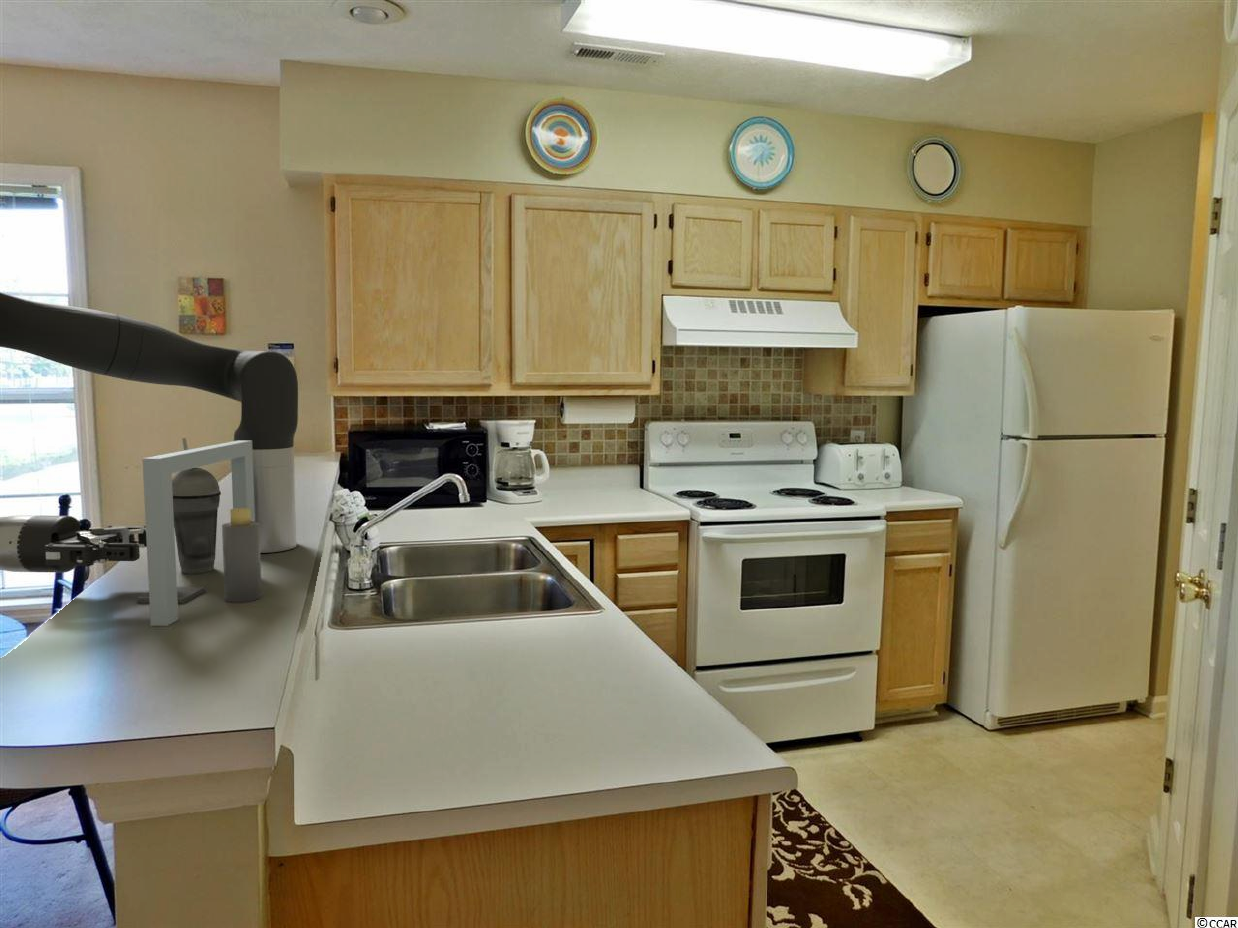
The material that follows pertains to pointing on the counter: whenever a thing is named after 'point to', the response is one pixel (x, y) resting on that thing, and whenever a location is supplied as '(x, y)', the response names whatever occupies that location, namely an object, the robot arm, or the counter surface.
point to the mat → (178, 594)
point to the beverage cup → (195, 518)
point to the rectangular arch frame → (162, 516)
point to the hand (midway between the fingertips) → (156, 545)
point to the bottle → (241, 557)
